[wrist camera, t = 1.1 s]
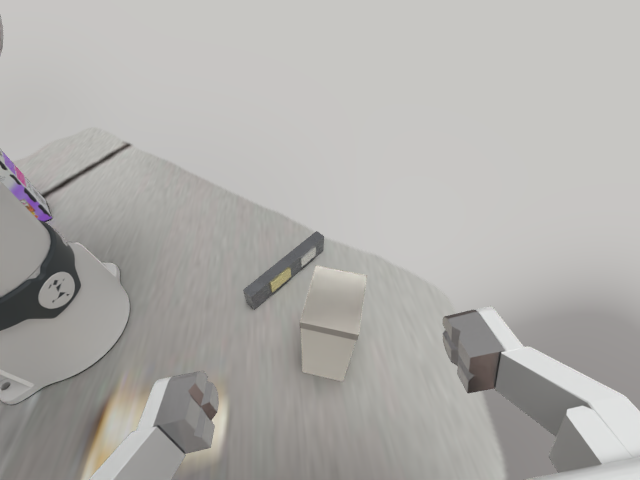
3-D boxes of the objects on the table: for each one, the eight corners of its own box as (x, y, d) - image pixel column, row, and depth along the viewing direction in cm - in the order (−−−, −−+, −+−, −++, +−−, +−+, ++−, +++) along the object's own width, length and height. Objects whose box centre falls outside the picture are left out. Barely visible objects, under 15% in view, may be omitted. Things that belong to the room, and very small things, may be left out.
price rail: (324, 251, 50) (325, 237, 47) (255, 310, 43) (251, 298, 40) (316, 245, 50) (316, 231, 48) (247, 303, 43) (243, 289, 41)
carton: (301, 372, 38) (299, 322, 27) (313, 325, 42) (315, 264, 31) (343, 382, 37) (358, 335, 26) (351, 333, 41) (367, 274, 30)
